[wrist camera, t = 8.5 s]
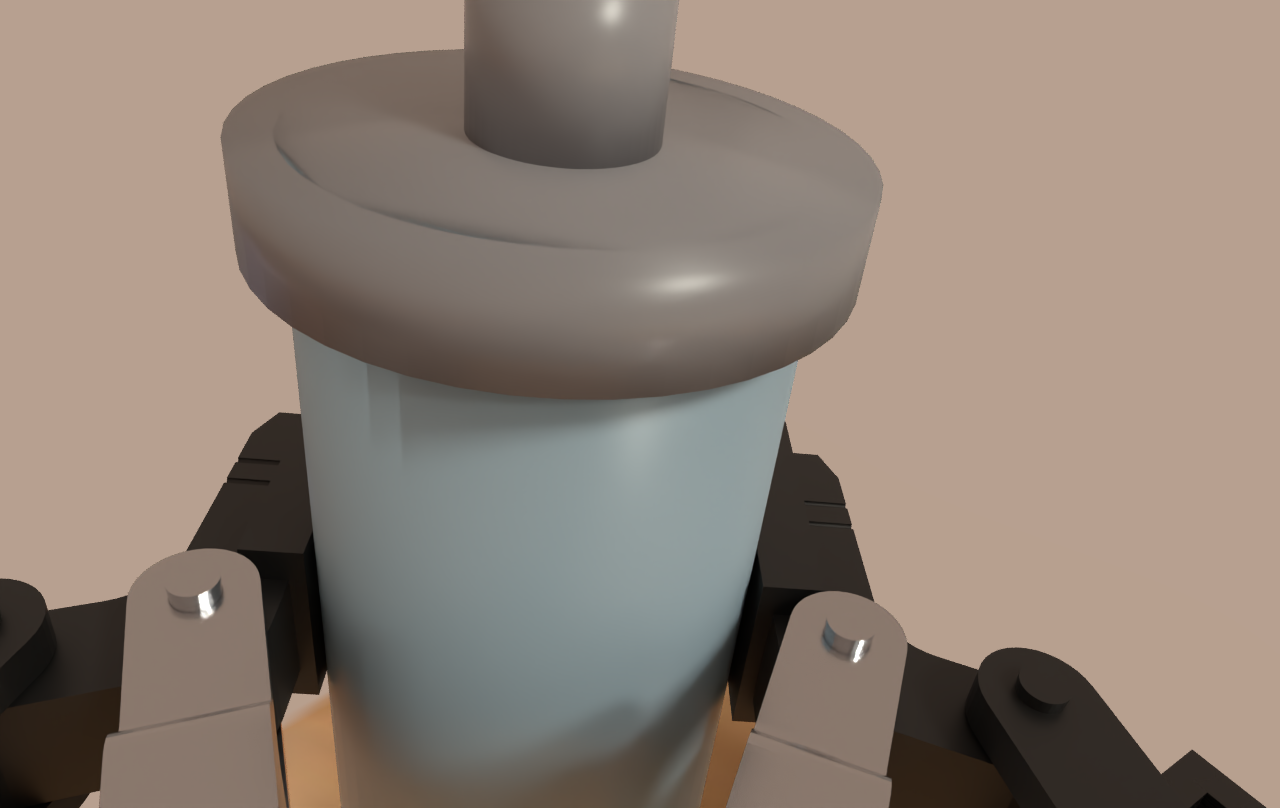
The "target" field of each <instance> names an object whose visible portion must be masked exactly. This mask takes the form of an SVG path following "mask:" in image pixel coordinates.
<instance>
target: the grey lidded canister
mask: <svg viewBox="0 0 1280 808" xmlns="http://www.w3.org/2000/svg"><path fill="white" fill-rule="evenodd" d="M678 5H679V0H465V12H464V17H465V18H464V20H465V21H464V23H465V24H464V28H465V29H464V49H460V50H433V51H418V52H406V53H394V54H387V55H379V56H370V57H363V58H358V59H352V60H346V61H341V62H336V63H331V64H327V65H323V66H319V67H315V68H311V69H308V70H304V71H302V72H298V73H295V74H292V75H289V76H286V77H283V78H281V79H279V80H277V81H274V82H272V83H270V84H267V85H265V86H263V87H262V88H260V89H258V90H256V91H255V92H253V93H252V94H250V95H248V96H247V97H245V98H244V99H243V100H242V101H241V102H240V103H239V104H237V105H236V106H235V107H234V108H233V109H232V110H231V112H230V114H229V115H228V117H227V118H226V120H225V121H224V124H223V129H222V134H221V143H222V151H223V159H224V167H225V174H226V181H227V189H228V196H229V205H230V212H231V220H232V227H233V235H234V242H235V250H236V255H237V260H238V265H239V270H240V271H241V273H242V275H243V277H244V279H245V280H246V282H247V284H248V286H249V288H250V289H251V290H252V292H254V294H255V295H256V296H257V297H258V298H259V299H260V300H261V302H262V303H263V304H264V305H265V306H266V307H267V308H268V309H269V310H270V311H272V312H273V313H274V314H276V315H277V316H278V317H280V318H281V319H282V320H283V321H285V322H286V323H287V324H289V325H290V326H291V327H292V330H293V340H294V349H295V359H296V369H297V379H298V389H299V399H300V408H301V418H302V428H303V438H304V448H305V458H306V467H307V477H308V487H309V497H310V507H311V517H312V526H313V536H314V546H315V556H316V566H317V575H318V585H319V595H320V605H321V615H322V625H323V634H324V644H325V654H326V664H327V674H328V684H329V693H330V703H331V713H332V723H333V733H334V742H335V752H336V762H337V772H338V782H339V792H340V801H341V808H700V805H701V800H702V796H703V791H704V787H705V782H706V777H707V773H708V768H709V764H710V759H711V755H712V750H713V746H714V741H715V736H716V732H717V727H718V723H719V718H720V714H721V709H722V704H723V700H724V695H725V691H726V686H727V682H728V677H729V673H730V668H731V663H732V659H733V654H734V650H735V645H736V641H737V636H738V631H739V627H740V622H741V618H742V613H743V609H744V604H745V600H746V595H747V590H748V586H749V581H750V577H751V572H752V568H753V563H754V558H755V554H756V549H757V545H758V540H759V536H760V531H761V527H762V522H763V517H764V513H765V508H766V504H767V499H768V495H769V490H770V485H771V481H772V476H773V472H774V467H775V463H776V458H777V453H778V449H779V444H780V440H781V435H782V431H783V426H784V422H785V417H786V412H787V408H788V403H789V398H790V394H791V390H792V385H793V380H794V376H795V371H796V367H797V362H798V360H799V359H801V358H803V357H805V356H807V355H809V354H811V353H812V352H814V351H815V350H816V349H818V348H819V347H821V346H822V345H823V344H825V343H826V342H827V341H828V340H830V339H831V338H833V336H834V335H835V334H836V333H837V332H838V331H839V330H840V328H841V327H842V326H843V325H844V324H845V323H846V322H847V320H848V318H849V316H850V314H851V312H852V310H853V308H854V306H855V304H856V300H857V296H858V292H859V288H860V284H861V280H862V276H863V271H864V267H865V263H866V259H867V255H868V251H869V247H870V243H871V239H872V235H873V231H874V227H875V223H876V219H877V215H878V211H879V207H880V203H881V198H882V190H883V183H882V179H881V175H880V171H879V169H878V168H877V166H876V165H875V163H874V161H873V160H872V158H871V157H870V155H868V153H866V151H865V150H864V149H863V148H862V147H861V146H860V145H859V144H858V143H856V142H855V141H854V140H853V139H851V138H850V137H849V136H847V135H846V134H845V133H844V132H842V131H841V130H839V129H837V128H836V127H834V126H832V125H831V124H829V123H827V122H826V121H824V120H822V119H821V118H818V117H817V116H815V115H813V114H811V113H808V112H806V111H804V110H802V109H800V108H798V107H796V106H793V105H791V104H788V103H786V102H784V101H781V100H779V99H776V98H774V97H771V96H768V95H765V94H762V93H759V92H756V91H754V90H751V89H748V88H744V87H741V86H738V85H734V84H731V83H727V82H724V81H721V80H717V79H713V78H709V77H705V76H701V75H697V74H693V73H688V72H684V71H679V70H675V69H671V65H672V57H673V48H674V39H675V31H676V22H677V14H678Z"/></svg>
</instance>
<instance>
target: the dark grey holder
mask: <svg viewBox="0 0 1280 808" xmlns="http://www.w3.org/2000/svg"><path fill="white" fill-rule="evenodd" d="M1161 775H1162V776H1163V777H1164V779H1165V780H1166V781H1167V783H1168V784H1169V785H1170V786H1171V788H1172V789H1173V790H1174V792H1175V793H1176V794H1177V795H1178V797H1179V798H1180V799H1181V801H1182V802H1183V803H1184V804H1185V806H1186V807H1187V808H1266V807H1265V806H1264V805H1262V804H1261V803H1260V802H1258V801H1257V800H1256V799H1255V798H1253V797H1252V796H1251V795H1249V794H1248V793H1247V792H1246V791H1244V790H1243V789H1242V788H1241V787H1239V786H1238V785H1237V784H1235V783H1234V782H1233V781H1231V780H1230V779H1229V778H1228V777H1227V776H1225V775H1224V774H1223V773H1221V772H1220V771H1219V770H1218V769H1216V768H1215V767H1214V766H1212V765H1211V764H1210V763H1209V762H1207V761H1206V760H1205V759H1204V758H1202V757H1201V756H1200V755H1198V754H1197V753H1196V752H1195V751H1193V750H1191V751H1190V752H1189V753H1187V754H1186V755H1185V756H1184V757H1182V758H1181V759H1180V760H1179V761H1177V762H1176V763H1175V764H1174V765H1172V766H1171V767H1170V768H1169V769H1168V770H1166V771H1165V772H1164V773H1162V774H1161Z"/></svg>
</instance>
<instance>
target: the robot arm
mask: <svg viewBox="0 0 1280 808" xmlns="http://www.w3.org/2000/svg"><path fill="white" fill-rule="evenodd" d="M845 504H846V503H845V500H844V496H843V493H842V489H841V486H840V482H839V479H838V477H837V476H836V475H835V474H834V473H833V472H832V471H831V470H830V468H829V467H828V466H827V465H826V464H825V463H824V462H823V461H822V459H821V458H820V457H819V456H818V455H811V454H797V453H793V452H792V447H791V443H790V439H789V435H788V430H787V426H786V422H784V426H783V431H782V435H781V440H780V444H779V449H778V453H777V458H776V463H775V467H774V472H773V476H772V481H771V485H770V490H769V495H768V499H767V504H766V508H765V513H764V517H763V522H762V527H761V531H760V536H759V540H758V545H757V549H756V554H755V558H754V563H753V568H752V572H751V577H750V581H749V586H748V590H747V595H746V600H745V604H744V609H743V613H742V618H741V622H740V627H739V631H738V636H737V641H736V645H735V650H734V654H733V659H732V663H731V668H730V673H729V677H728V685H729V695H730V704H731V713H732V721H744V722H756V725H755V728H754V729H752V730H751V733H750V735H749V738H748V741H747V744H746V747H745V750H744V753H743V756H742V759H741V762H740V765H739V768H738V772H737V775H736V778H735V781H734V784H733V787H732V790H731V793H730V796H729V799H728V802H727V805H726V808H1187V807H1186V806H1185V804H1184V803H1183V802H1182V801H1181V799H1180V798H1179V797H1178V795H1177V794H1176V793H1175V792H1174V790H1173V789H1172V788H1171V786H1170V785H1169V784H1168V783H1167V781H1166V780H1165V779H1164V777H1163V776H1162V775H1161V774H1160V772H1159V771H1158V770H1157V769H1156V767H1155V766H1154V765H1153V763H1152V762H1151V761H1150V760H1149V758H1148V757H1147V756H1146V754H1145V753H1144V752H1143V751H1142V749H1141V748H1140V747H1139V745H1138V744H1137V743H1136V742H1135V740H1134V739H1133V738H1132V736H1131V735H1130V734H1129V733H1128V731H1127V730H1126V729H1125V727H1124V726H1123V725H1122V724H1121V722H1120V721H1119V720H1118V719H1117V717H1116V716H1115V715H1114V713H1113V712H1112V711H1111V710H1110V708H1109V707H1108V706H1107V704H1106V703H1105V702H1104V701H1103V699H1102V698H1101V697H1100V695H1099V694H1098V693H1097V692H1096V690H1095V689H1094V688H1093V686H1092V685H1091V684H1090V683H1089V682H1088V681H1087V680H1086V678H1084V677H1083V676H1082V675H1081V674H1080V673H1079V672H1078V671H1076V670H1075V669H1074V668H1072V667H1071V666H1069V665H1068V664H1066V663H1064V662H1063V661H1061V660H1059V659H1057V658H1055V657H1053V656H1051V655H1049V654H1046V653H1043V652H1040V651H1037V650H1032V649H1027V648H1005V649H1001V650H998V651H995V652H993V653H991V654H990V655H988V656H987V657H986V658H985V659H984V660H983V662H982V663H981V666H980V668H979V670H977V669H974V668H971V667H968V666H965V665H962V664H958V663H955V662H952V661H949V660H946V659H943V658H940V657H937V656H934V655H931V654H929V653H926V652H924V651H922V650H920V649H918V648H916V647H914V646H912V645H911V644H909V643H908V642H907V640H906V636H905V633H904V631H903V629H902V627H901V626H900V624H899V623H898V622H897V620H896V619H895V618H894V617H893V616H892V615H891V614H890V613H889V612H888V611H887V610H885V609H884V608H883V607H881V606H880V605H878V604H877V603H875V602H874V599H873V596H872V592H871V589H870V585H869V582H868V579H867V575H866V572H865V569H864V565H863V562H862V558H861V555H860V551H859V548H858V545H857V541H856V537H855V534H854V531H853V529H851V525H852V524H851V521H850V517H849V513H848V510H847V509H846V508H845ZM326 671H327V664H326V654H325V644H324V634H323V625H322V615H321V605H320V595H319V585H318V575H317V566H316V556H315V546H314V536H313V526H312V517H311V507H310V497H309V487H308V477H307V467H306V458H305V448H304V438H303V428H302V418H301V414H293V413H278V414H277V415H275V416H274V417H273V418H271V419H270V420H269V421H267V422H266V423H264V424H263V425H262V426H260V427H259V428H258V429H257V430H255V431H254V432H252V434H251V436H250V437H249V439H248V441H247V443H246V444H245V446H244V448H243V450H242V452H241V453H240V455H239V457H238V462H236V463H235V465H234V466H233V468H232V470H231V471H230V473H229V475H228V477H227V483H224V484H223V486H222V488H221V489H220V491H219V493H218V495H217V497H216V499H215V500H214V502H213V504H212V506H211V507H210V509H209V511H208V513H207V515H206V517H205V518H204V520H203V522H202V524H201V526H200V527H199V529H198V531H197V533H196V535H195V536H194V538H193V540H192V542H191V544H190V545H189V547H188V549H187V551H185V552H182V553H178V554H175V555H172V556H170V557H168V558H165V559H163V560H161V561H159V562H157V563H156V564H154V565H152V566H151V567H150V568H148V569H147V570H146V571H144V572H143V573H142V574H141V575H140V576H139V577H138V578H137V579H136V581H135V582H134V583H133V585H132V587H131V589H130V591H129V593H128V595H127V596H124V597H120V598H117V599H113V600H108V601H103V602H97V603H90V604H85V605H79V606H72V607H66V608H60V609H54V610H48V609H47V606H46V603H45V600H44V598H43V596H42V594H41V593H40V592H39V591H38V590H37V589H36V588H34V587H33V586H31V585H29V584H27V583H24V582H21V581H17V580H12V579H0V808H79V807H80V806H81V805H82V804H83V802H84V801H85V799H86V798H87V797H88V795H89V794H90V793H91V792H96V791H100V802H99V808H290V799H289V789H288V779H287V769H286V759H285V749H284V739H283V731H282V724H281V722H282V720H283V717H284V714H285V712H286V709H287V706H288V703H289V700H290V698H291V695H292V693H298V694H316V695H319V693H320V689H321V687H322V683H323V680H324V678H325V674H326Z"/></svg>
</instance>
